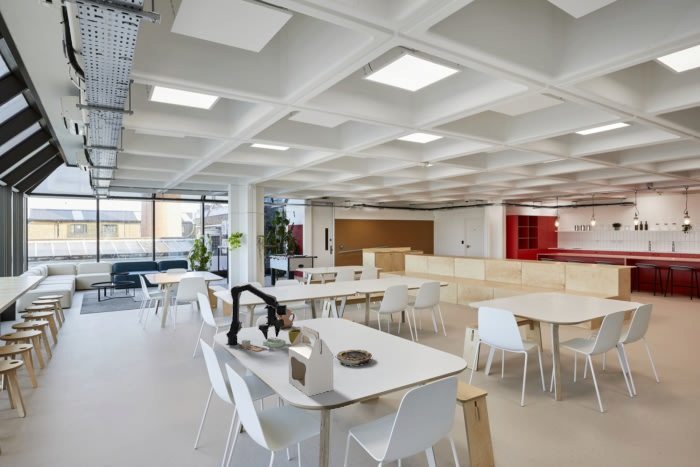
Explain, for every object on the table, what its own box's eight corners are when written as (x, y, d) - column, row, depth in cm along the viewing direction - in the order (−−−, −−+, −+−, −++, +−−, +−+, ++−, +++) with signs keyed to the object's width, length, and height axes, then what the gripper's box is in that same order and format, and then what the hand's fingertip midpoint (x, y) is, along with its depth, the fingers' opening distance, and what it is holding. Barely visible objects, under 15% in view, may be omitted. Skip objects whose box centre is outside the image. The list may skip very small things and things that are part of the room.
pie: (387, 361, 229) (386, 353, 229) (354, 374, 210) (353, 364, 210) (353, 352, 250) (353, 344, 250) (320, 362, 230) (320, 353, 230)
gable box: (288, 382, 197) (288, 326, 197) (311, 376, 204) (311, 323, 205) (309, 397, 178) (308, 335, 179) (333, 390, 186) (333, 331, 186)
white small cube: (267, 344, 265) (267, 338, 265) (271, 343, 268) (271, 337, 268) (271, 345, 263) (271, 339, 263) (276, 343, 266) (276, 337, 266)
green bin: (263, 345, 264) (263, 341, 264) (273, 342, 271) (273, 338, 271) (274, 348, 257) (274, 343, 257) (285, 345, 264) (285, 340, 264)
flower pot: (300, 346, 262) (300, 332, 262) (288, 345, 264) (288, 332, 264) (304, 342, 271) (304, 329, 271) (292, 342, 273) (292, 329, 273)
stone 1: (241, 346, 260) (241, 340, 260) (246, 345, 263) (246, 339, 263) (245, 347, 257) (245, 341, 257) (250, 346, 260) (250, 340, 260)
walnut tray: (238, 347, 259) (238, 346, 259) (247, 345, 265) (247, 343, 265) (257, 352, 247) (257, 351, 247) (266, 350, 253) (266, 348, 253)
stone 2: (272, 345, 262) (272, 339, 262) (277, 344, 265) (277, 338, 265) (276, 346, 260) (276, 340, 260) (281, 345, 263) (281, 339, 263)
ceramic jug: (276, 330, 306) (277, 312, 306) (270, 326, 319) (271, 309, 319) (298, 328, 316) (298, 310, 316) (291, 324, 328) (291, 307, 328)
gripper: (269, 318, 253) (269, 343, 253) (290, 314, 268) (290, 337, 268) (257, 316, 260) (257, 340, 260) (278, 312, 275) (278, 334, 275)
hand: (271, 338), depth 266 cm, fingers open, 9 cm apart
